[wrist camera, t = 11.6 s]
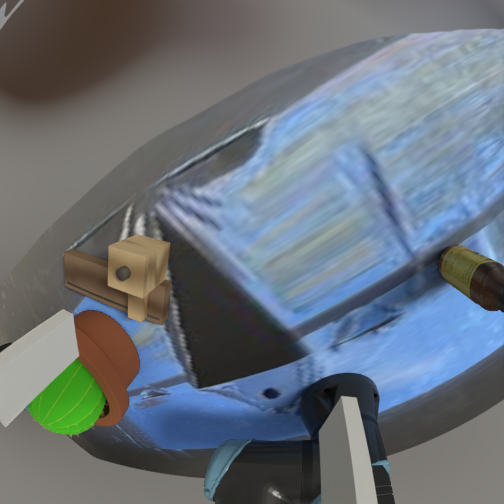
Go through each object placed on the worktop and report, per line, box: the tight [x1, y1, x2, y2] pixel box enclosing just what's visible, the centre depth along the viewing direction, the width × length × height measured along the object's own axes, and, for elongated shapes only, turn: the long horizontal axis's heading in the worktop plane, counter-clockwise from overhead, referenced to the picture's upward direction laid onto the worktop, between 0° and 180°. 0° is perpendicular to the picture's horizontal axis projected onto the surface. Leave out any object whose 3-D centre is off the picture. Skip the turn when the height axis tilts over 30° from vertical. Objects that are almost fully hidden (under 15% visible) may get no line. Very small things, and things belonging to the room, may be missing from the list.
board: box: [64, 249, 172, 325], centre depth 42 cm, size 7×22×3 cm, turn 77°
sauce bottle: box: [438, 245, 504, 312], centre depth 25 cm, size 7×6×20 cm
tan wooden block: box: [108, 234, 170, 322], centre depth 38 cm, size 12×6×9 cm, turn 167°
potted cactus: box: [24, 310, 140, 437], centre depth 36 cm, size 22×22×25 cm
